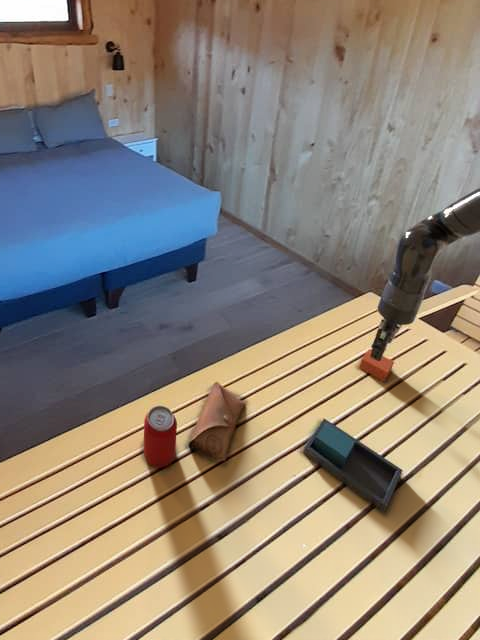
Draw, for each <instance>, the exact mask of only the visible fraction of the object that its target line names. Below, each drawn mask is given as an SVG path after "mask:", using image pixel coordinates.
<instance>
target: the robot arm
mask: <svg viewBox="0 0 480 640" xmlns="http://www.w3.org/2000/svg"><path fill="white" fill-rule="evenodd" d="M479 233H480V187H478V188H477V189H475V190H473V191H471V192H469V193H467V194H466V195H464V196H462V197H461V198H459V199H457V200H456V201H454V202H451V203H450V204H449V205H448V206H446V207H444V208H443V209H442V210H441V211H438V212H436V213H434V214H432V215H430V216H428V217H426V218H424V219H422V220H421V221H419V222H418V223H416V224H414V225H413V226H411V227H410V228H409V229H407V230H406V231H405V232H403V234H402V235H401V237H400V238H399V242H398V244H397V247H396V252H395V253H396V254H395V255H396V256H395V264H394V266H393V268H392V271H391V273H390V276H389V279H388V280H387V282H386V284H385V286H384V289H383V291H382V294H381V297H380V299H379V302H378V304H377V312H378V314H379V315H380V316H381V317H382V318H381V320H380V323H379V327H378V329H377V330H376V332H375V337H374V340H373V343H372V344H371V350H372V353H371V355H370V356H371V358H373V359H375V360H377V361H380V360H381V358H382V356H384V353H385V351H387V347H388V346H389V344H392V343H393V341H394V339H395V337H396V335H397V334H398V333H399V331H400V330H401V328H402V327H403V326H407V325H408V326H409V325H411V324H412V323H414V322H415V319H416V317H417V315H418V312H419V311H420V308H421V306H422V303H423V302H424V301H423V300H424V298H425V293H426V290H427V288H428V286H429V283H430V281H431V279H432V274H433V270H432V265H433V263H434V261H435V259H436V258H437V256H438V254H439V253H441V252H442V251H443V250H444V249H445V248H447V247H448V246H450V245H452V244H453V243H455V242H457V241H459V240H461V239H463V238H468V237H473V236H474V235H477V234H479Z"/></svg>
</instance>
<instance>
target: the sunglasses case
mask: <svg viewBox="0 0 480 640" xmlns="http://www.w3.org/2000/svg"><path fill="white" fill-rule="evenodd" d="M245 405H246V402H245V401H243V400H241V399H240V398H239V397H237V396H236V395H234V394H233V393H232V392H230V391H229V390H228V389H226V388H225V387H224V386H223V385H221V384H220V383H219V381H215V382H214V383H213V384H212V387H211V389H210V391H209V394H208V396H207V398H206V400H205V402H204V405H203V407H202V409H201V412H200V414H199V416H198V418H197V420H196V424H195V426H194V428H193V431H192V434H191V437H190V438H189V441H188V448H189V449H191V450H193V451H196V452H198V453H199V454H200V453H201V454H203V455H205V456H207V457H209V458H212V459H214V460H217V461H223V462H224V461H226V460H227V457H228V453H229V448H230V445H231V442H232V438H233V436H234V432H235V429H236V427H237V424H238V421H239V418H240V416H241V413H242V411H243V409H244V407H245Z"/></svg>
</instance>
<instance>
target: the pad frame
mask: <svg viewBox="0 0 480 640" xmlns="http://www.w3.org/2000/svg"><path fill="white" fill-rule="evenodd" d="M326 422H327V423H328V424H330V425H331V426H333V427H335V428H336V429H338V430H339V431H341V432H342V433H344V434H345V435H347V436H348V437H350V438H351V439H353V440H354V441H355V445H354V447H353V450H352V452H351V454H350V456H349V458H348V459H347V461H346V463H345V465H344V466H343V468H342V469H340V468H339V467H337V466H336V465H335V464H333V463H332V462H330V461H329V460H328V459H326V458H325V457H324V456H322V455H321V454H319V453H318V452H317V451H315V450H314V449H313V446H314V443H315V440H316V437H317V436H318V434H319V433H320V431H321V430H322V428H323V427H324V425H325V424H326ZM302 453H303V454H304V455H306V456H307V457H308V458H309V459H311V460H312V461H313V462H315V463H316V464H317V465H319V466H320V467H321V468H323V469H324V470H325V471H327V472H328V473H329V474H331V475H332V476H334V477H335V478H337V479H338V480H339V481H340V482H342V483H343V484H344V485H346V486H347V487H349V488H350V489H351V490H353V491H354V492H355V493H357V494H358V495H359V496H360V497H362V498H363V499H365V501H367V502H369V503H370V504H372V505H373V506H374V507H376V508H377V509H378V510H380V511H381V512H382V513H385V511H386V509H387V507H388V505H389V503H390V500H391V498H392V496H393V493H394V491H395V489H396V487H397V484H398V482H399V480H400V478H401V475H402V473H403V471H404V470H403V469H402V468H400V467H399V466H397V465H396V464H395V463H394V462H391V461H390V460H388V459H387V458H385V457H384V456H382V455H381V454H379V453H378V452H376V451H375V450H373V449H372V448H370V447H368V446H367V445H366V444H364V443H362V442H361V441H360V440H358V439H357V438H355V437H354V436H352V435H351V434H349V433H348V432H346V431H344V430H343V429H341V428H340V427H338V426H337V425H335V424H334V423H332V422H331V421H329V420H328V419H326V418H323V419H322V420H321V422H320V423H319V424H318V426H317V427H316V429H315V431H314V432H313V434H312V435H311V437H310V438H309V439H308V441H307V442H306V443H305V445H304V448H303V450H302Z"/></svg>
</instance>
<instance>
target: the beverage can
mask: <svg viewBox="0 0 480 640" xmlns="http://www.w3.org/2000/svg"><path fill="white" fill-rule="evenodd" d="M177 431H178V421H177V418H176V417H175V415H174V413H173V411H171V409H170V408H168V407H166V406H163V405H157V406H153V407H152V408H151V409H149V411H148V412H146V415H145V416H144V420H143V454H144V457H145V459H146V461H147V462H148V464H150V465H151V466H153V467H157V468H165V467H167V466H170V464H171V463H173V461H174V459H175V456H176V446H177Z"/></svg>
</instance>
